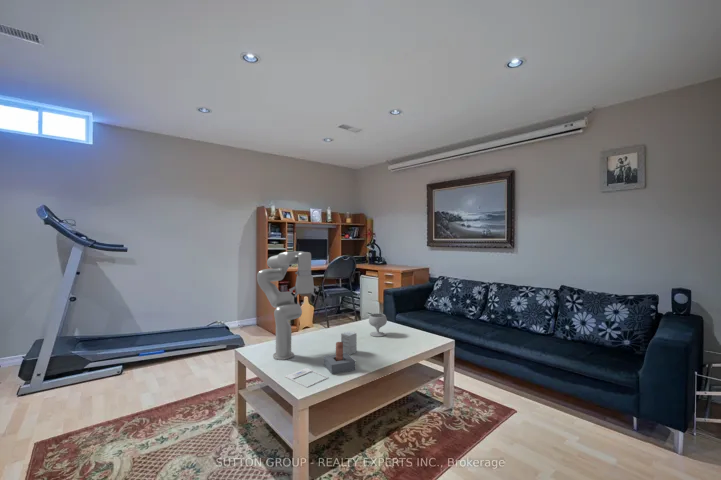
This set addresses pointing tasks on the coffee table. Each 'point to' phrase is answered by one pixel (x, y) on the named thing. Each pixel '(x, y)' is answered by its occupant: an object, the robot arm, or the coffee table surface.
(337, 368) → the socket block
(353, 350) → the supplement box
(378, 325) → the chalice
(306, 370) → the photo frame
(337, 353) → the peg
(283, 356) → the robot arm
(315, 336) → the coffee table surface
